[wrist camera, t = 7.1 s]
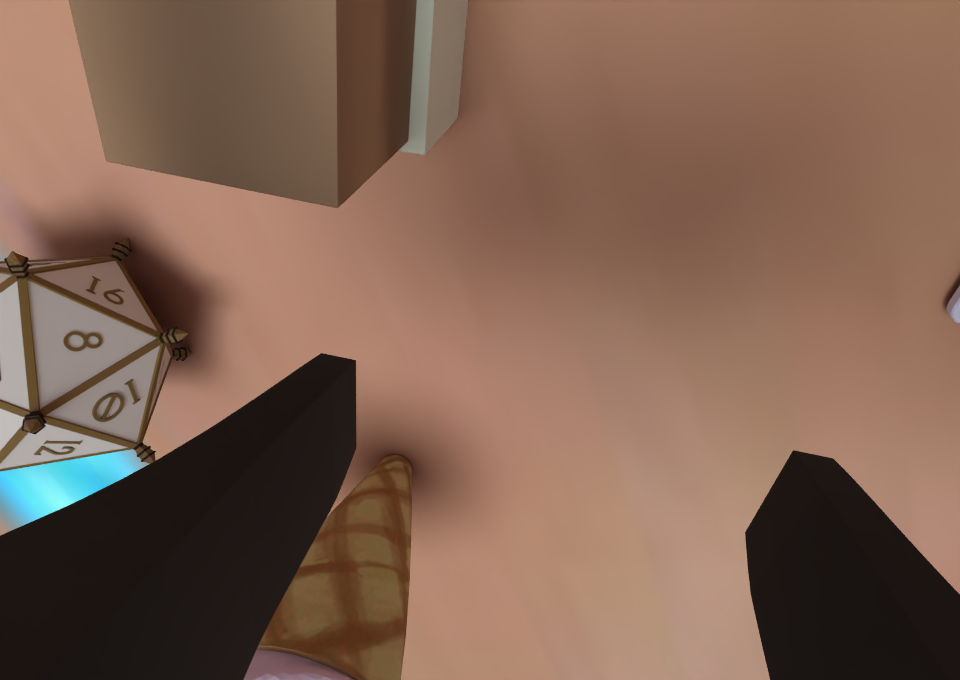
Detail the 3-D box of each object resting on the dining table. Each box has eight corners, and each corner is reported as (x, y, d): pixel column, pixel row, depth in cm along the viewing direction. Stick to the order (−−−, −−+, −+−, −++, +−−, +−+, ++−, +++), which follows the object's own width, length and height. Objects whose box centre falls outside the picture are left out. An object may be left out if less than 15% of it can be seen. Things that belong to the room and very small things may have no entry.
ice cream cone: (352, 516, 29) (161, 938, 17) (294, 420, 26) (9, 847, 14) (480, 507, 27) (369, 981, 15) (433, 401, 24) (243, 885, 12)
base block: (480, -113, 15) (441, -130, 11) (459, 116, 18) (424, 155, 14) (269, -141, 15) (174, -165, 12) (285, 87, 18) (213, 118, 15)
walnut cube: (421, -87, 12) (335, -102, 8) (408, 140, 14) (337, 207, 11) (209, -121, 12) (33, -150, 8) (233, 107, 15) (106, 161, 11)
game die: (144, 242, 27) (-185, 204, 18) (263, 250, 22) (-102, 204, 14) (135, 436, 28) (-186, 483, 19) (248, 482, 23) (-107, 572, 15)
